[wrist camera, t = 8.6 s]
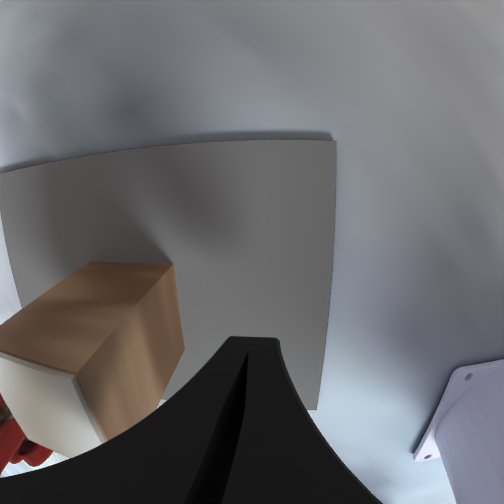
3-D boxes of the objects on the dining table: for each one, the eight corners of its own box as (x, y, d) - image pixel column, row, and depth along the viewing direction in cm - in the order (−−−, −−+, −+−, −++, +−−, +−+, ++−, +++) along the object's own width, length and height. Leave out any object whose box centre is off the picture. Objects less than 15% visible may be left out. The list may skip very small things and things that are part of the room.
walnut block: (173, 263, 12) (73, 377, 5) (184, 349, 13) (123, 477, 7) (90, 261, 13) (-25, 344, 6) (108, 339, 14) (27, 440, 7)
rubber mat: (334, 141, 10) (336, 140, 10) (316, 404, 14) (316, 409, 14) (1, 173, 12) (-4, 174, 12) (49, 368, 16) (45, 372, 15)
